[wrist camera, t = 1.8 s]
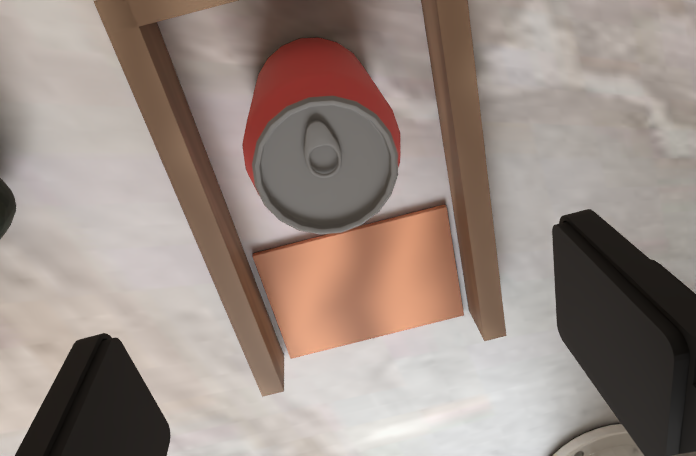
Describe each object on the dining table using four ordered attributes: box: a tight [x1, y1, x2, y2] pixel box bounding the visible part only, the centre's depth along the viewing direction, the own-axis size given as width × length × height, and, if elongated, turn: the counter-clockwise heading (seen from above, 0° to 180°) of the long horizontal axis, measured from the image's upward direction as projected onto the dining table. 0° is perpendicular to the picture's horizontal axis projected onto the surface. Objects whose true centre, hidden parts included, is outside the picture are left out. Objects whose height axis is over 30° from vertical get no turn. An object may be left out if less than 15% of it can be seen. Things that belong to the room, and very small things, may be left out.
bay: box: [94, 0, 506, 397], centre depth 32 cm, size 17×26×4 cm, turn 13°
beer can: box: [242, 37, 400, 234], centre depth 25 cm, size 7×7×12 cm
